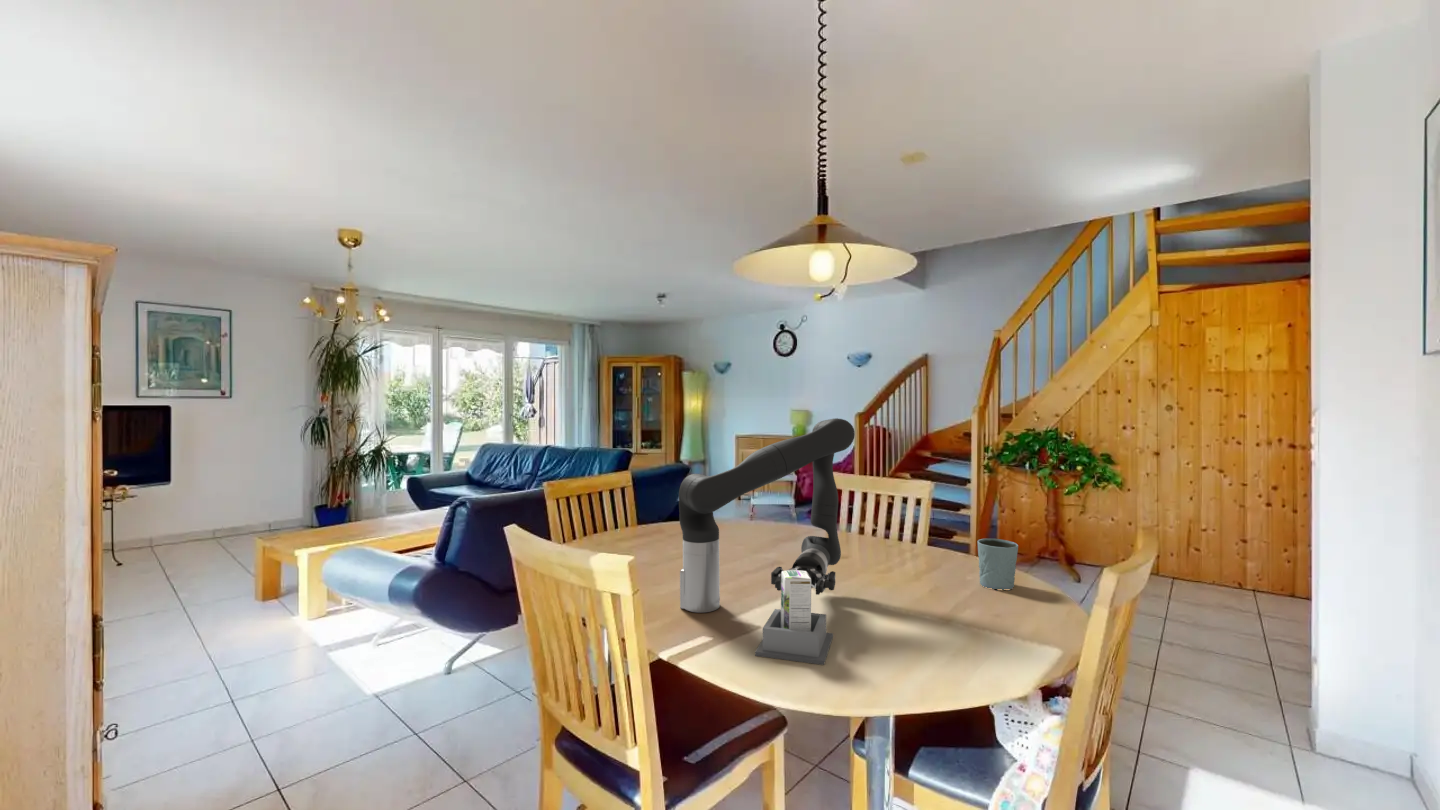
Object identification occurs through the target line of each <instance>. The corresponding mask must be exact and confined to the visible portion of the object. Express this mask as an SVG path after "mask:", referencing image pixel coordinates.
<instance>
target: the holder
mask: <svg viewBox="0 0 1440 810" xmlns="http://www.w3.org/2000/svg"><path fill="white" fill-rule="evenodd" d="M833 638H834V633H833V632H827V614H825V613H816V612H811V632H810V631H802V630H794V629H785V628H781V608H780V609H778V608H774V610H773V611H772V612H771V614H770V616H769V617H768V619H767V621H766V622H765V624H764V625H763V627H762V640H761V641H760V643H759V644H758V647H757V648H756V649H755V651H754V656H755V657H763V658H769V659H778V660H785V661H791V662H798V663H799V662H800V663H805V664H807V663H808V664H812V665H813V664H814V665H820V666H824V665H825V663H826V660H827V657H828V653H829V650H830V648H831V644H832V641H833Z"/></svg>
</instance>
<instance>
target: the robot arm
mask: <svg viewBox="0 0 1440 810" xmlns="http://www.w3.org/2000/svg"><path fill="white" fill-rule="evenodd" d="M854 439H855V428H854V426H853V425H852V423H851V422H850V421H847V420H846V419H843V418H838V417H837V418H829V419H825V420H820V421H819V422H817V423H816V424H815V425H814V427H813V428H812V430H811V432H807V433H806V434H803V435H799V436H795V437H790V438H787V439H784V440H783V439H782V440H780V441H776V442H774V443H771V444H769V445H766V446H764V447H762V448H759V449H758V450H755V451H753V452H752V453H750V454H749V455H748V456H747V457H745V459H743V460H742V461H741V462H740V463H739V464H738V465H736V466H734V467H733V468H731V469H728V470H726V471H723V472H719V473H717V474H715V475H714V474H713V475H706V474H702V473H692V474H690V475H687V476H686V477H684V478H683V480H682V482H681V483H680V487H679V490H678V509H679V510H678V512H679V514H678V515H679V525H680V530H681V532H682V533H681V534H682V568H681V569H680V570H679V595H680V596H679V597H680V598H679V600H680V601H679V602H680V603H679V607H680V609H683V610H685V611H689V612H692V613H699V614H700V613H710V612H714V611H717V610H718V609H719V608H720V607H721V605H720V604H721V602H720V601H721V598H720V597H721V596H720V595H721V594H720V592H721V591H720V589H721V588H720V587H721V586H720V584H721V583H720V528H719V526H718V524H717V522H716V520H715V517H714V512H715V511H718V510H720V509H721V508H723V507H724V506H726V505H728V504H729V503H731V502H732V501H734V500H736V499H737V498H739V497H741V496H743V495H745V494H748V493H750V492H753V491H755V490H757V489H759V488H762V487H763V486H766V485H768V484H770V483H771V484H772V483H774V482H776V481H778V480H780V479H782V478H785V477H787V476H788V475H791V474H792V473H794V472H797V471H799V470H801V469H802V468H804V467H805V466H807V465H809V464H811V463H812V474H813V475H812V476H813V477H812V478H813V479H812V480H813V487H812V488H813V489H812V490H813V491H812V500H811V501H812V502H811V510H810V511H811V514H810V524H811V525H812V526H813V527H816V528H819V529H821V530H823V531H825V532H826V534H827V537H826V536H825V537H823V536H817V535H808V536H806V537H804V538H803V540H802V542H801V549H800V551H801V553H799V555H798V556H797V558H796V559H795V561H794V562H793V564H792V566H791V568H788V569H787V570H801V571H806V572H807V573H808V574H809V576H810V578H811V589H813V588H814V589H815V595H816V596H817V595H818V596H819V595H820V594H823V593H824V592H825V591H826V589H828V591H834V590H835V587H836V571H830V572H828V573H827V570H828V566H834V565H837V564H838V563H839V561H840V560H841V556H842V552H841V544H840V540H839V534H838V524H837V523H838V510H839V493H838V489H837V484H836V481H835V476H834V469H833V468H834V457H835V454H836V453H839V452H842V451H845V450H847V449H848V448H850V446H851V445H852V443H853V442H854ZM787 570H785V569H784V568H783V567H782V566H777V567H776V568H774V570H773V571H772V572H771V573H770V576H771V577H770V584H771V585H774V588H775V589H776V591H778V592H779V591H780V592H781V572H782V571H787Z"/></svg>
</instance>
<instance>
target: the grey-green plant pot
mask: <svg viewBox="0 0 1440 810" xmlns="http://www.w3.org/2000/svg"><path fill="white" fill-rule="evenodd" d="M1018 553H1019V545H1018V544H1017V543H1016V542H1014V541H1010V540H1006V539H1000V538H981V539H978V540H977V555H978V567H979V568H978V569H979V573H978V574H979V575H978V576H979V585H980V584H981V585H982V586H981V585H980V586H981V587H983V586H984V587H983V588H985V587H987V588H992V589H1002V590H1004V589H1012V588H1013V587H1015V579H1016V578H1015V576H1016V568H1017V567H1016V565H1017V559H1018ZM987 588H986V589H987ZM1013 589H1014V588H1013ZM1013 589H1012V590H1013Z"/></svg>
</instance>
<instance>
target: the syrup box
mask: <svg viewBox="0 0 1440 810" xmlns="http://www.w3.org/2000/svg"><path fill="white" fill-rule="evenodd" d="M780 609H781V628H785V629H794V630H802V631H810V632H811V613H812V588H811V578H810V576H809V574H808V573H807V572H806V571H801V570H789V569H787V571H786V570H784V571H782V572H781V591H780Z"/></svg>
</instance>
